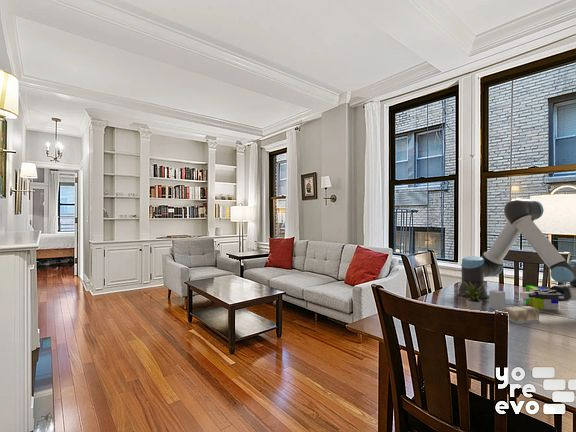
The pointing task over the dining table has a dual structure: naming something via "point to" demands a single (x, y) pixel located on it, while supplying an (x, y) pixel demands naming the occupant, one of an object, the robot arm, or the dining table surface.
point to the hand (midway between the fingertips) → (521, 295)
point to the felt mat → (525, 321)
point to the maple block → (522, 313)
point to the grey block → (497, 299)
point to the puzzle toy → (541, 300)
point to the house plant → (473, 297)
